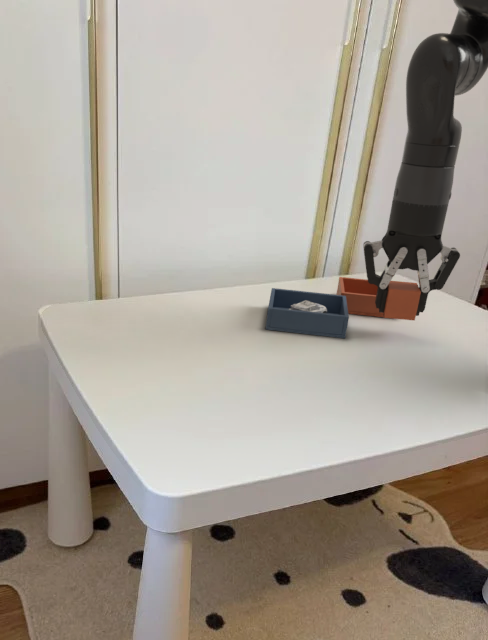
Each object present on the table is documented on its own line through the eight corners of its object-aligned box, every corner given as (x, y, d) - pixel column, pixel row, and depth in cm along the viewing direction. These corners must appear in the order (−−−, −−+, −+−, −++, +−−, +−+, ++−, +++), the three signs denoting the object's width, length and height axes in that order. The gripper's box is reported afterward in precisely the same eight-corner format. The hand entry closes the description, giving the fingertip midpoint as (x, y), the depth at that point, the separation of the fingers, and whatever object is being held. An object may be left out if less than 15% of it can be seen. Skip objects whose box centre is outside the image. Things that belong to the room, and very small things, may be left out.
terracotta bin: (388, 300, 114) (392, 281, 112) (393, 318, 106) (398, 298, 104) (336, 295, 115) (339, 276, 113) (337, 312, 107) (341, 292, 105)
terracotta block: (411, 310, 99) (417, 282, 97) (414, 320, 95) (421, 291, 93) (381, 307, 99) (386, 280, 97) (384, 317, 96) (389, 289, 93)
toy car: (330, 317, 103) (333, 299, 102) (300, 328, 98) (303, 309, 97) (312, 310, 106) (315, 293, 104) (282, 321, 101) (284, 303, 99)
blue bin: (342, 315, 106) (345, 295, 104) (345, 338, 97) (348, 317, 95) (269, 307, 107) (271, 287, 106) (265, 329, 98) (268, 308, 97)
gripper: (469, 196, 91) (442, 309, 99) (367, 189, 93) (349, 300, 101) (480, 206, 85) (450, 325, 93) (370, 198, 87) (351, 316, 95)
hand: (398, 311), depth 97 cm, fingers closed on terracotta block, 4 cm apart
